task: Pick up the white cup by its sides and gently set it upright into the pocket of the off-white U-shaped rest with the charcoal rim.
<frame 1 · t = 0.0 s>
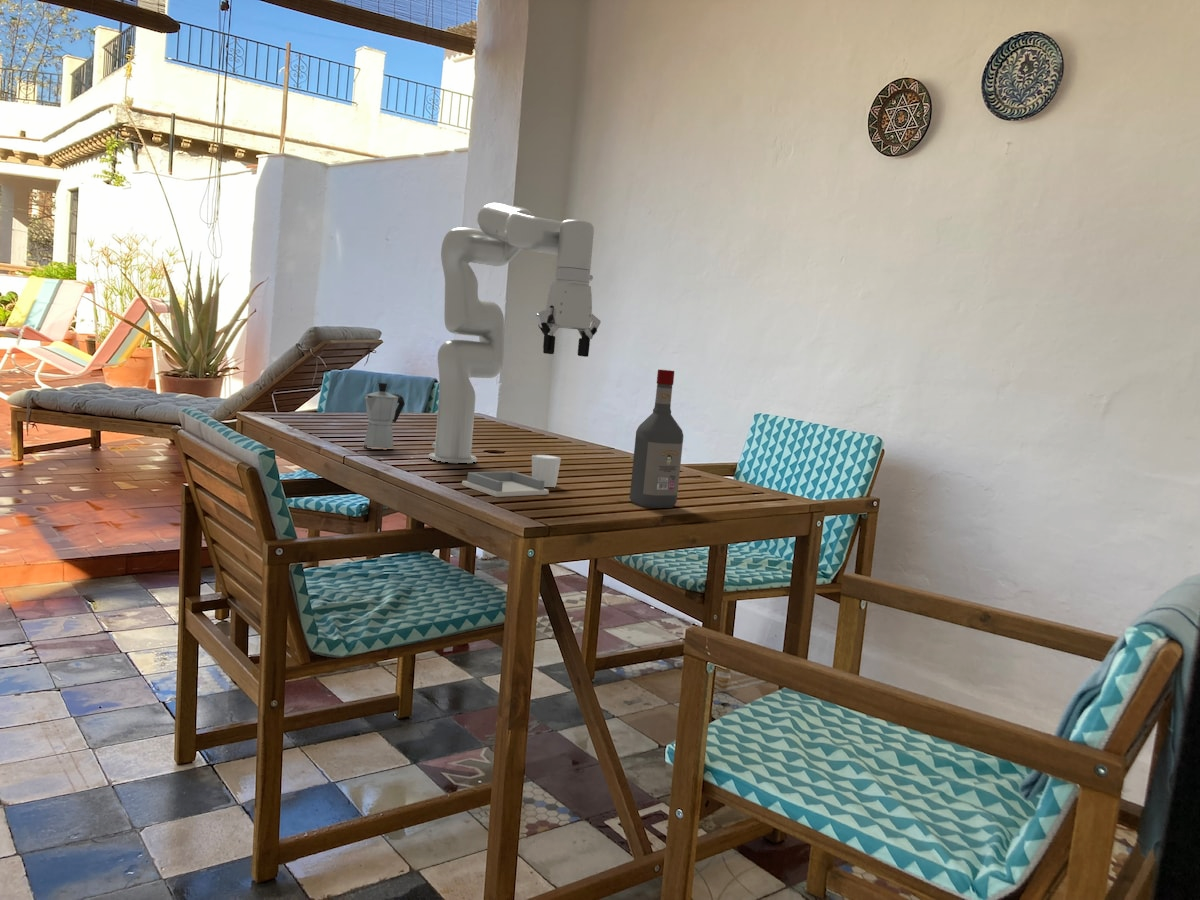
hand: (565, 355, 210), 31 cm above the table, fingers open, 9 cm apart
u rest: (505, 489, 211), on the table
liquor: (652, 505, 210), on the table
coffee maker: (381, 448, 259), on the table
white cup: (543, 486, 221), on the table
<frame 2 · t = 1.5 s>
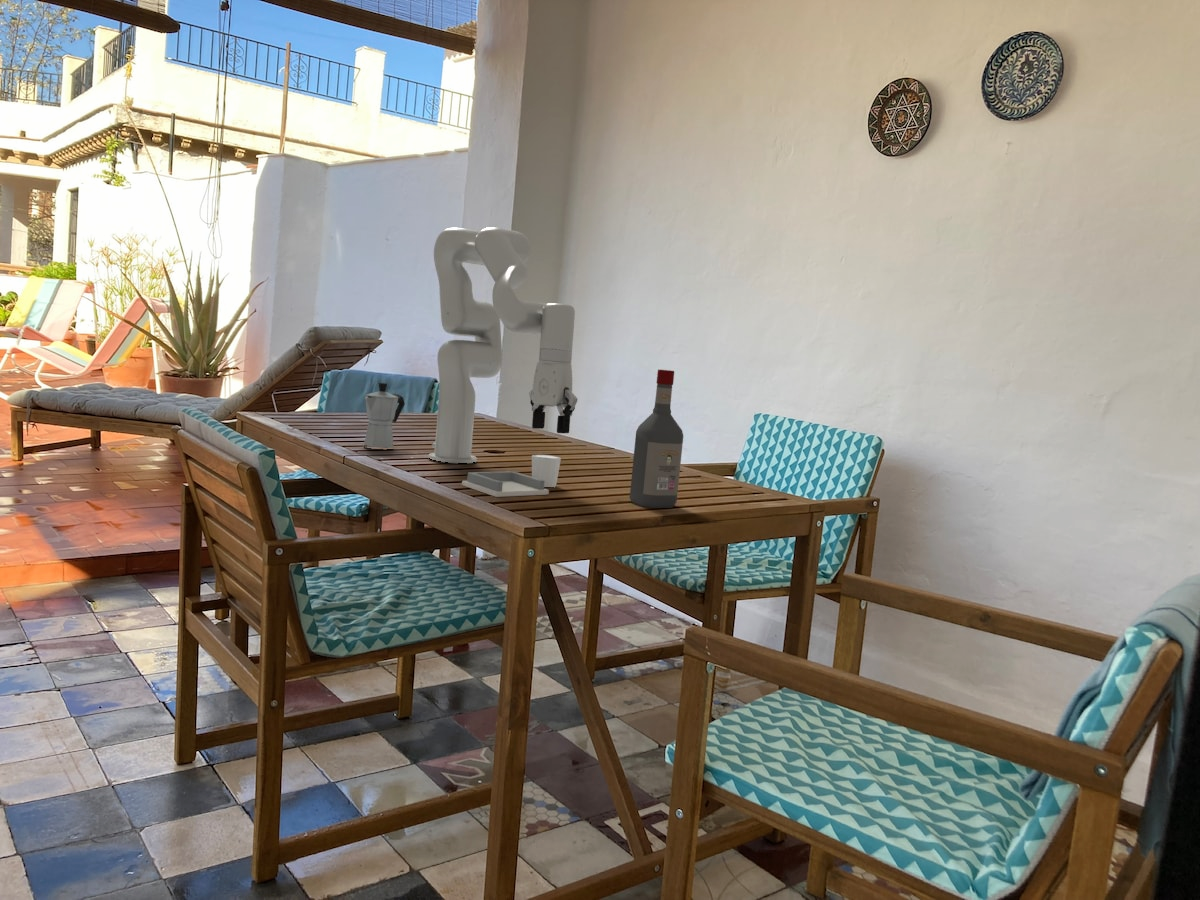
hand: (550, 430, 219), 13 cm above the table, fingers open, 9 cm apart
nothing on the table moved.
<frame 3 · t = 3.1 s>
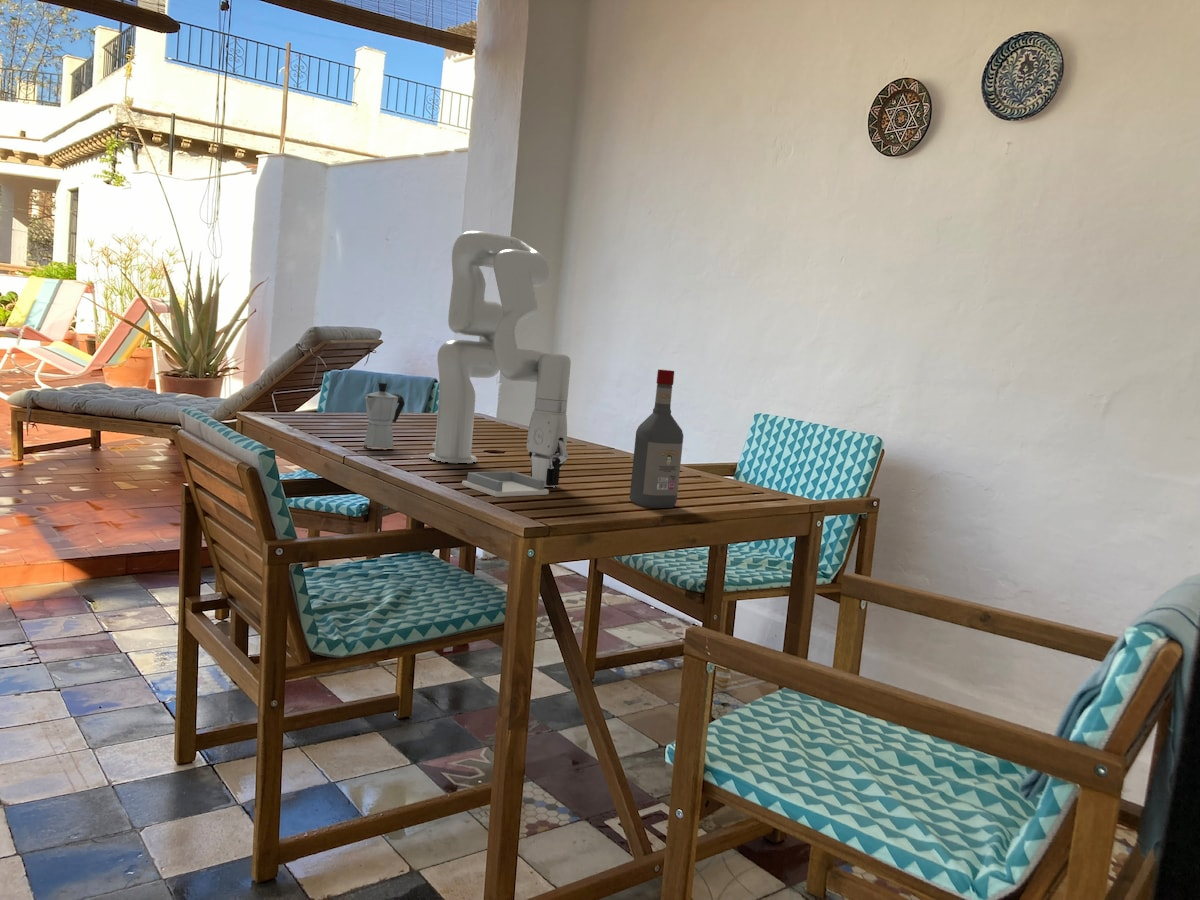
hand: (544, 482, 221), 1 cm above the table, fingers closed on white cup, 5 cm apart
white cup: (543, 486, 221), on the table, touching gripper
everything else where it was.
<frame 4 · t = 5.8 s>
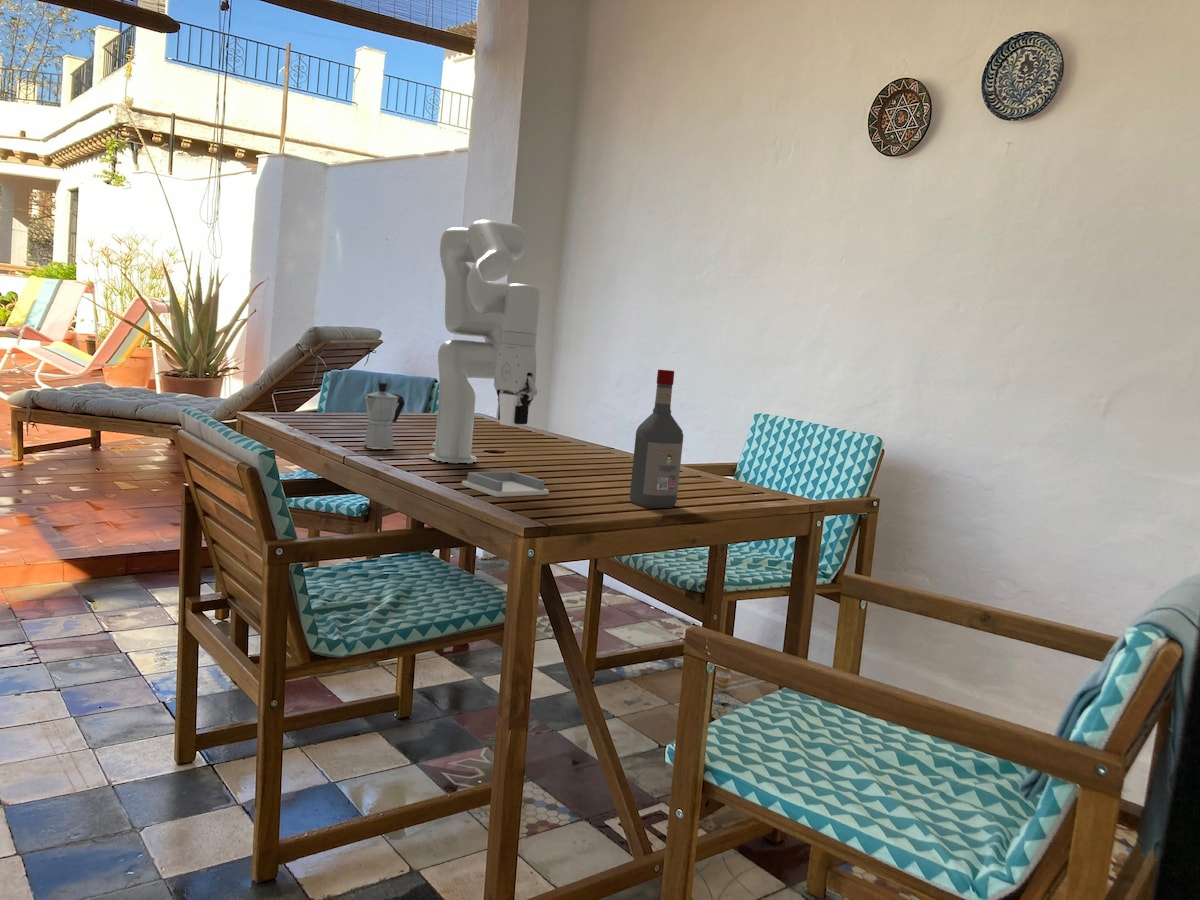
hand: (512, 421, 209), 15 cm above the table, fingers closed on white cup, 5 cm apart
white cup: (512, 425, 210), point 14 cm above the table, touching gripper
everything else where it was.
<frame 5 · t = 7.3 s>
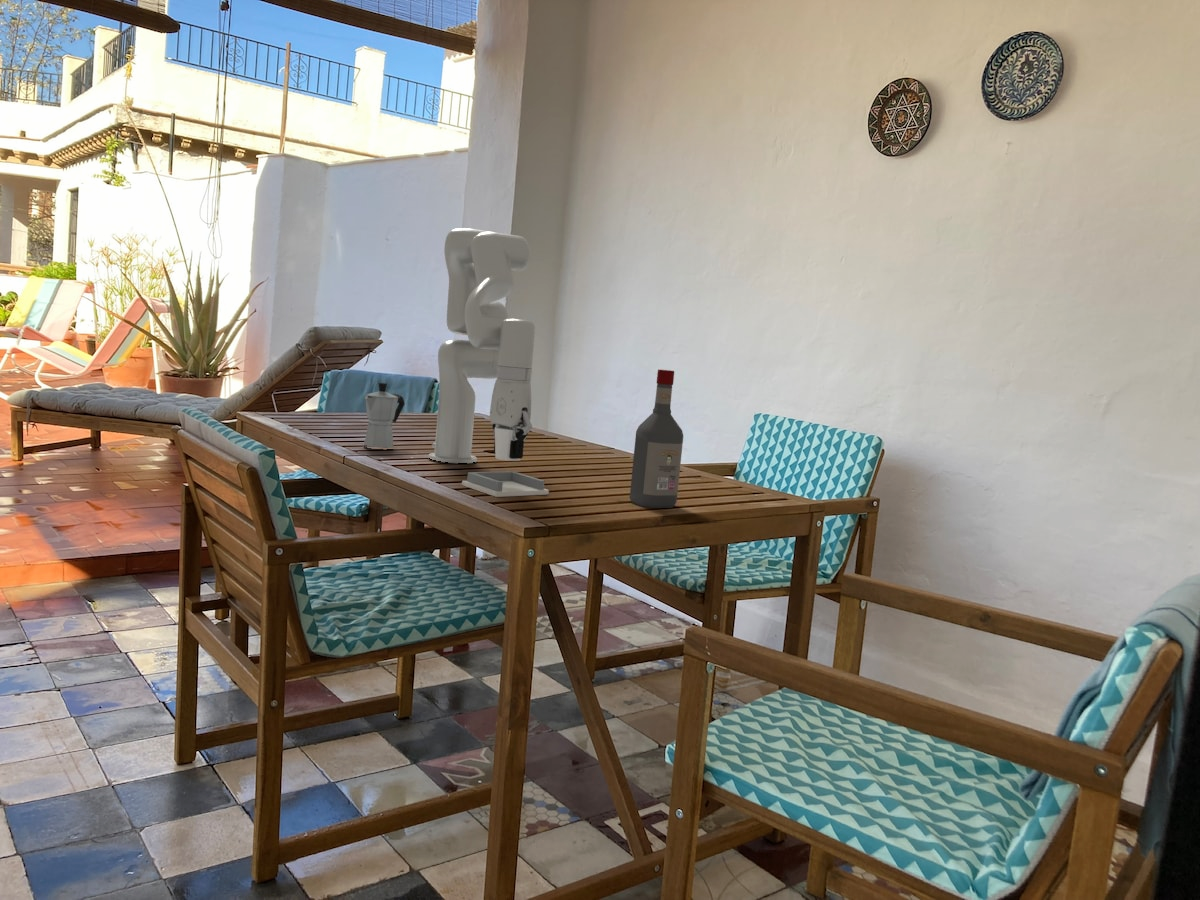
hand: (507, 455, 210), 8 cm above the table, fingers closed on white cup, 5 cm apart
white cup: (507, 459, 210), point 7 cm above the table, touching gripper
everything else where it was.
when the fingers open (4 cm above the table, at t = 8.6 s): white cup drops 2 cm, resting on u rest.
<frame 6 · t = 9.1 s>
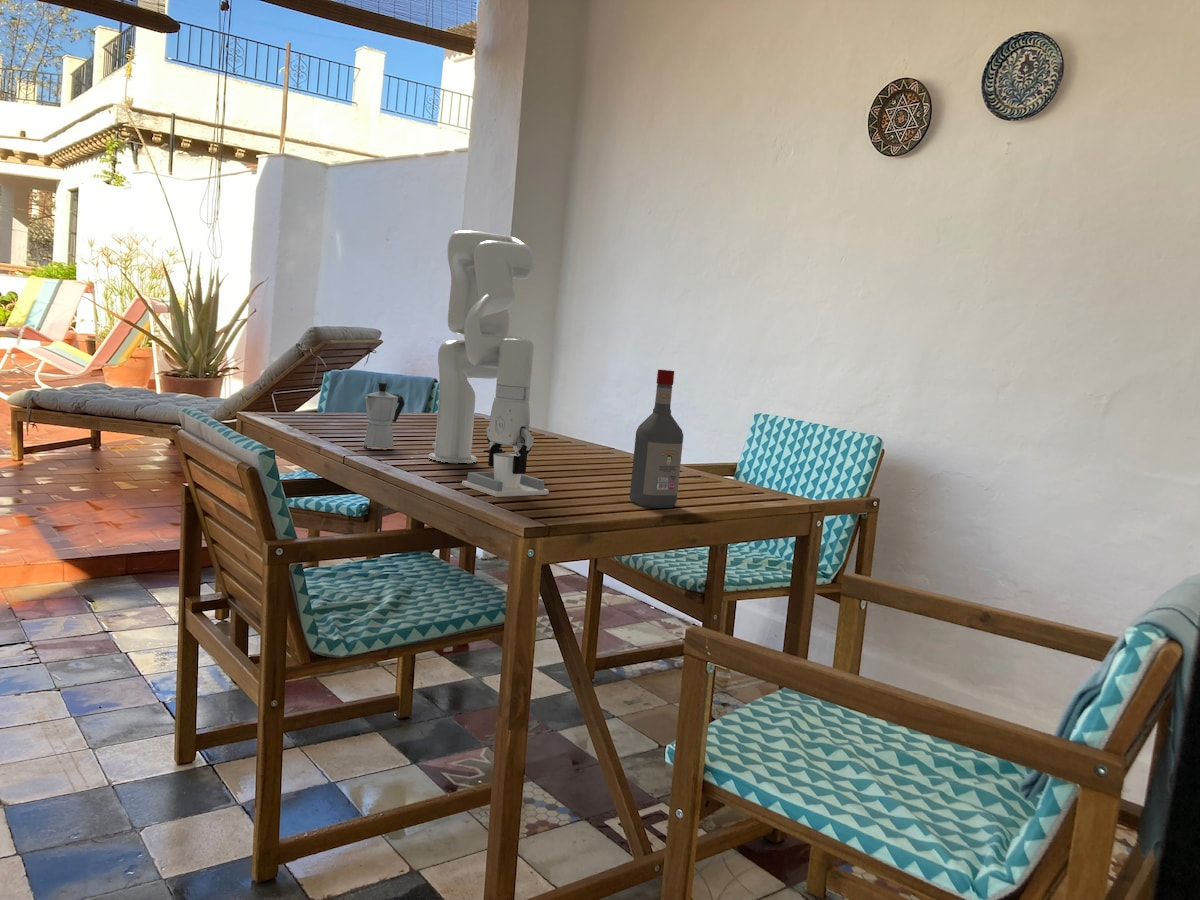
hand: (506, 469, 210), 4 cm above the table, fingers open, 9 cm apart
white cup: (506, 486, 210), point 1 cm above the table, touching u rest
everything else where it was.
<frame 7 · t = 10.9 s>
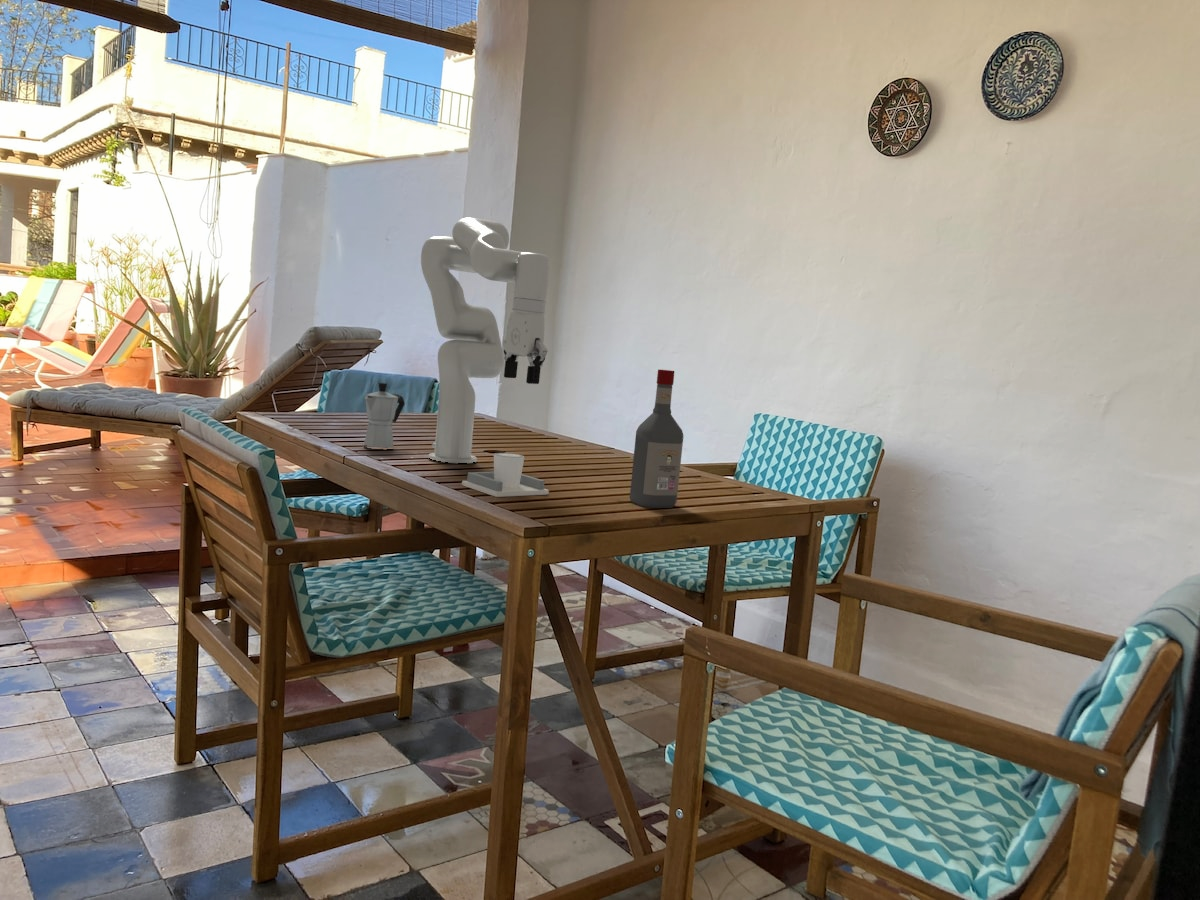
hand: (521, 380, 220), 24 cm above the table, fingers open, 9 cm apart
nothing on the table moved.
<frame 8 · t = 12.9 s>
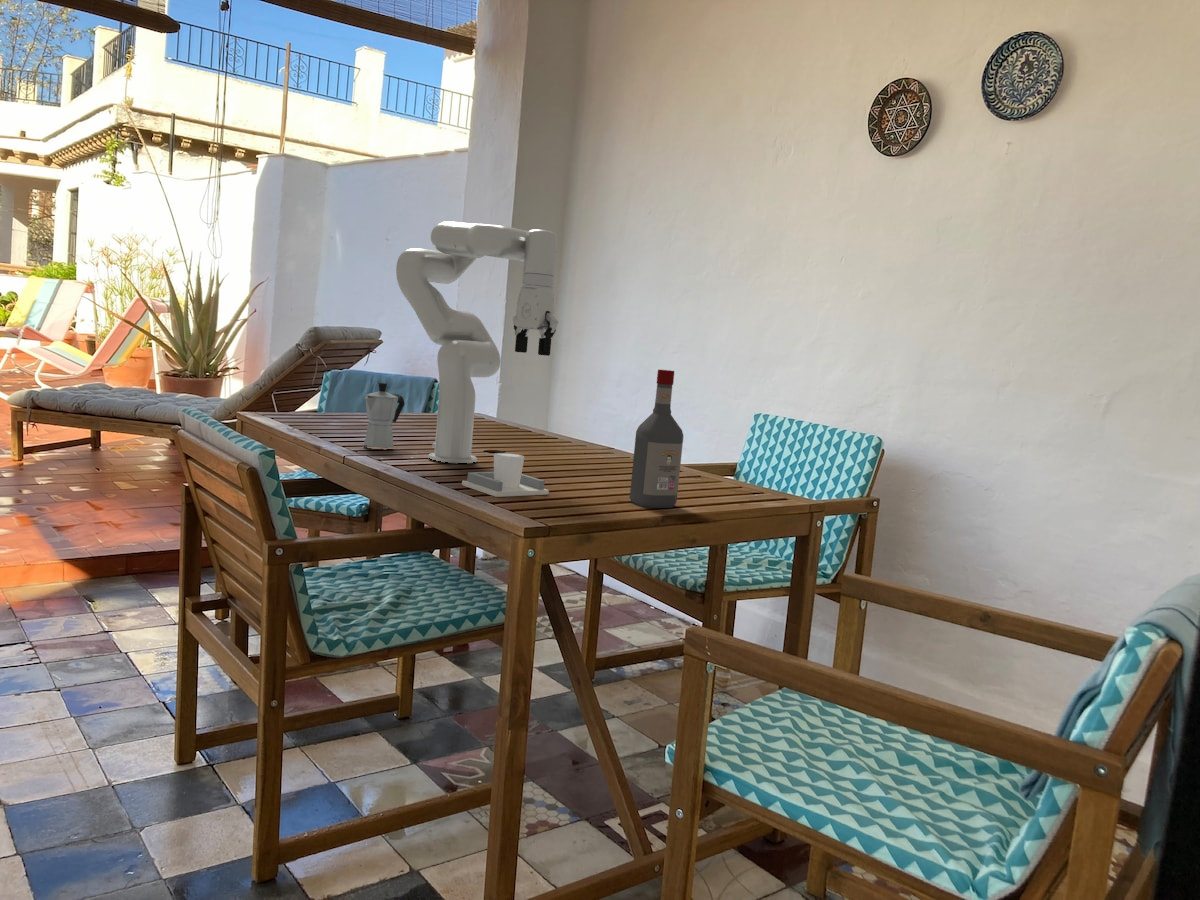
hand: (532, 353, 228), 30 cm above the table, fingers open, 9 cm apart
nothing on the table moved.
at the end: white cup 0.1 cm off-centre on the u rest, point 0.8 cm above the u rest's base; white cup tilted 0°; the gripper is holding nothing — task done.
